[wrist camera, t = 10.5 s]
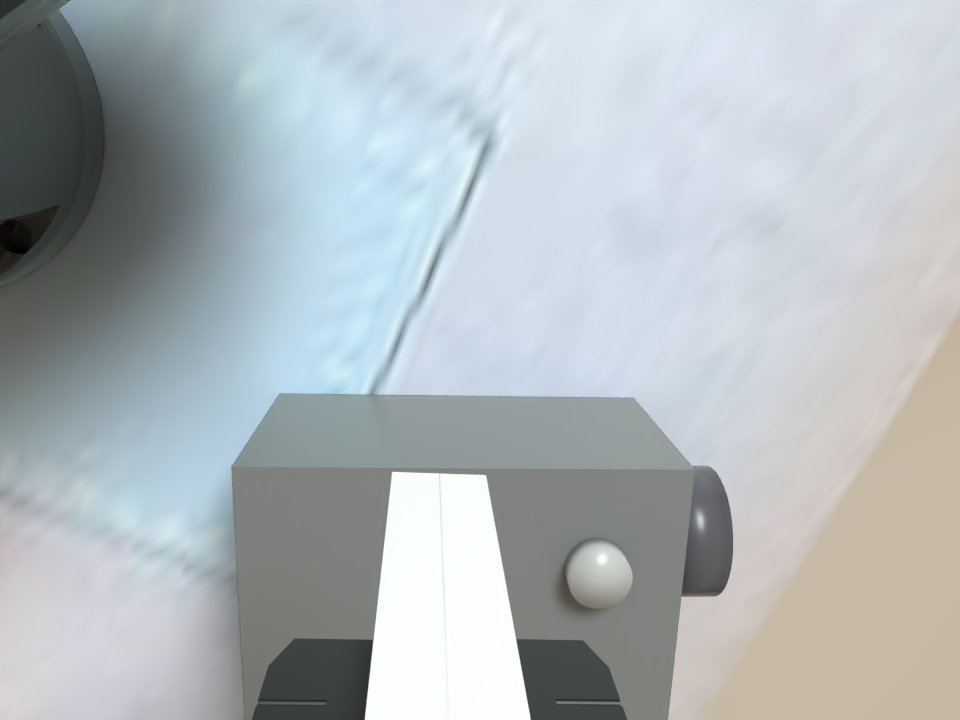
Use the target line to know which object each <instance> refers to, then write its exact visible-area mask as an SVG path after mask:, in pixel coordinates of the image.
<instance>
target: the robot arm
mask: <svg viewBox="0 0 960 720" xmlns="http://www.w3.org/2000/svg"><path fill="white" fill-rule="evenodd" d="M69 1H70V0H0V286H3V285H6V284H8V283H11V282H13V281H16V280H18V279H20V278H22V277H24V276H26V275H28V274H30V273H31V272H33V271H34V270H36V269H38V268H39V267H40V266H42V265H43V264H44V263H46V262H47V261H48V260H50V259H51V258H52V257H53V256H54V255H55V254H56V253H58V252H59V251H60V250H61V249H62V247H63V246H64V245H65V244H66V243H67V242H68V241H69V240H70V238H71V237H72V236H73V235H74V233H75V232H76V230H77V229H78V227H79V226H80V224H81V223H82V221H83V219H84V217H85V215H86V214H87V212H88V210H89V207H90V205H91V203H92V201H93V198H94V195H95V192H96V189H97V186H98V182H99V178H100V173H101V168H102V162H103V152H104V126H103V116H102V108H101V103H100V98H99V93H98V90H97V86H96V82H95V79H94V76H93V73H92V70H91V67H90V65H89V63H88V60H87V58H86V56H85V53H84V51H83V49H82V47H81V45H80V43H79V41H78V39H77V38H76V36H75V34H74V32H73V31H72V29H71V27H70V26H69V24H68V23H67V21H66V20H65V18H64V17H63V15H62V14H61V13H60V11H59V10H58V9H59V8H61V7H62V6H63V5H65V4H66V3H67V2H69ZM252 720H627V717H626V714H625V712H624V709H623V706H621V705H620V697H619V695H618V692H617V689H616V686H615V683H614V681H613V678H612V675H611V672H610V669H609V667H608V666H607V665H606V664H605V663H604V662H603V661H602V660H601V659H600V658H599V657H598V656H597V654H596V653H595V652H594V651H593V650H592V649H591V648H590V647H589V646H588V645H587V644H586V643H585V642H584V641H583V640H540V639H516V636H515V631H514V625H513V620H512V614H511V609H510V604H509V598H508V593H507V587H506V582H505V576H504V571H503V565H502V560H501V554H500V549H499V543H498V538H497V532H496V527H495V522H494V516H493V511H492V505H491V500H490V494H489V489H488V483H487V478H486V475H469V474H440V473H411V472H392V478H391V487H390V496H389V506H388V515H387V524H386V533H385V542H384V551H383V560H382V569H381V578H380V587H379V596H378V605H377V614H376V623H375V632H374V640H362V639H301V638H294V639H293V640H292V642H291V643H290V644H289V645H288V646H287V647H286V648H285V649H284V650H283V651H282V652H281V653H280V654H279V655H278V656H277V657H276V658H275V659H274V660H273V661H272V663H271V664H270V665H269V666H268V669H267V672H266V675H265V678H264V681H263V685H262V688H261V691H260V694H259V698H258V704H257V706H256V707H255V710H254V714H253V717H252Z"/></svg>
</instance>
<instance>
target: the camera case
mask: <svg viewBox="0 0 960 720" xmlns="http://www.w3.org/2000/svg"><path fill="white" fill-rule="evenodd" d="M392 472H411V473H440V474H469V475H486V478H487V483H488V489H489V494H490V500H491V505H492V511H493V516H494V522H495V527H496V532H497V538H498V543H499V549H500V554H501V560H502V565H503V571H504V576H505V582H506V587H507V593H508V598H509V604H510V609H511V614H512V620H513V625H514V631H515V636H516V639H540V640H583V641H584V642H585V643H586V644H587V645H588V646H589V647H590V648H591V649H592V650H593V651H594V652H595V653H596V654H597V656H598V657H599V658H600V659H601V660H602V661H603V662H604V663H605V664H606V665H607V666H608V667H609V669H610V672H611V675H612V678H613V681H614V683H615V686H616V689H617V692H618V695H619V697H620V705H621V706H623V709H624V712H625V714H626V717H627V720H668V714H669V705H670V696H671V686H672V677H673V668H674V659H675V650H676V640H677V631H678V622H679V613H680V604H681V597H704V596H717V595H719V594H720V593H721V592H722V591H723V590H724V588H725V586H726V584H727V581H728V578H729V575H730V571H731V565H732V556H733V529H732V519H731V512H730V507H729V502H728V498H727V495H726V492H725V489H724V486H723V484H722V482H721V479H720V478H719V476H718V474H717V473H716V472H715V471H714V470H713V469H712V468H711V467H709V466H691V464H690V463H689V462H688V461H687V460H686V459H685V457H684V456H683V455H682V454H681V453H680V452H679V450H678V449H677V448H676V447H675V446H674V445H673V443H672V442H671V441H670V440H669V439H668V437H667V436H666V435H665V434H664V433H663V432H662V430H661V429H660V428H659V427H658V426H657V425H656V423H655V422H654V421H653V420H652V419H651V418H650V416H649V415H648V414H647V413H646V412H645V411H644V409H643V408H642V407H641V406H640V405H639V404H638V402H637V401H636V400H635V399H634V398H591V397H511V396H430V395H349V394H279V395H278V397H277V398H276V400H275V401H274V403H273V404H272V406H271V408H270V409H269V411H268V412H267V414H266V415H265V417H264V418H263V420H262V421H261V423H260V424H259V426H258V427H257V429H256V430H255V432H254V433H253V435H252V436H251V438H250V439H249V441H248V443H247V444H246V446H245V447H244V449H243V450H242V452H241V453H240V455H239V456H238V458H237V459H236V461H235V462H234V464H233V465H232V486H233V505H234V524H235V543H236V562H237V582H238V601H239V620H240V639H241V658H242V677H243V696H244V715H245V720H252V717H253V714H254V710H255V707H256V706H257V704H258V698H259V694H260V691H261V688H262V685H263V681H264V678H265V675H266V672H267V669H268V666H269V665H270V664H271V663H272V661H273V660H274V659H275V658H276V657H277V656H278V655H279V654H280V653H281V652H282V651H283V650H284V649H285V648H286V647H287V646H288V645H289V644H290V643H291V642H292V640H293V639H294V638H301V639H362V640H374V632H375V623H376V614H377V605H378V596H379V587H380V578H381V569H382V560H383V551H384V542H385V533H386V524H387V515H388V506H389V496H390V487H391V478H392Z"/></svg>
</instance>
